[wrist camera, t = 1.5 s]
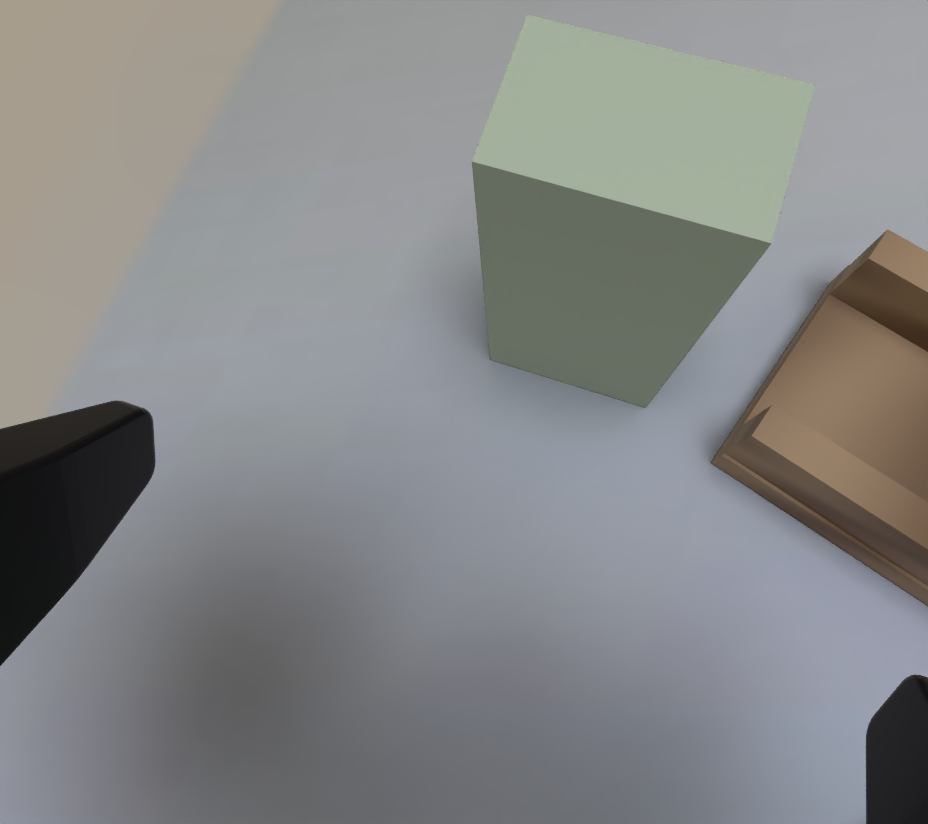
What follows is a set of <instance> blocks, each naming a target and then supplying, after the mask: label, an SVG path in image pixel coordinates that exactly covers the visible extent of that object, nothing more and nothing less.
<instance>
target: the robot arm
mask: <svg viewBox="0 0 928 824" xmlns="http://www.w3.org/2000/svg"><path fill="white" fill-rule="evenodd" d="M154 468H155V446H154V429H153V418H152V416H151V414H150V412H149V411H147V410H146V409H144V408H141V407H138V406H135V405H132V404H130V403H127V402H124V401H111V402H107V403H103V404H99V405H95V406H91V407H87V408H83V409H79V410H75V411H71V412H67V413H63V414H59V415H55V416H51V417H47V418H42V419H38V420H34V421H30V422H26V423H22V424H18V425H14V426H10V427H6V428H2V429H0V666H1V665H2V664H3V663H4V661H5V660H6V659H7V658H8V657H9V656H10V655H11V654H12V653H13V651H14V650H15V649H16V648H17V647H18V646H19V645H20V644H21V642H22V641H23V640H24V639H25V638H26V637H27V636H28V635H29V634H30V632H31V631H32V630H33V629H34V628H35V627H36V626H37V625H38V624H39V622H40V621H41V620H42V619H43V618H44V617H45V616H46V615H47V614H48V612H49V611H50V610H51V609H52V608H53V607H54V606H55V605H56V603H57V602H58V601H59V600H60V599H61V598H62V597H63V596H64V595H65V593H66V592H67V591H68V590H69V589H70V588H71V586H72V585H73V584H74V583H75V582H76V581H77V579H78V578H79V577H80V576H81V574H82V573H83V572H84V570H85V569H86V568H87V567H88V565H89V564H90V563H91V561H92V560H93V559H94V557H95V556H96V554H97V553H98V552H99V550H100V549H101V547H102V546H103V545H104V543H105V542H106V541H107V539H108V538H109V536H110V535H111V534H112V532H113V531H114V530H115V528H116V527H117V525H118V524H119V523H120V521H121V520H122V519H123V517H124V516H125V514H126V513H127V512H128V510H129V509H130V507H131V506H132V505H133V503H134V502H135V501H136V499H137V498H138V496H139V495H140V494H141V492H142V491H143V490H144V488H145V487H146V485H147V484H148V482H149V481H150V479H151V477H152V475H153V472H154ZM866 824H928V678H927V677H924V676H921V675H911V676H909V677H907V678H906V679H904V680H903V681H902V682H901V684H900V685H899V686H898V687H897V688H896V690H895V691H894V692H893V693H892V694H891V696H890V697H889V698H888V699H887V700H886V701H885V703H884V704H883V705H882V706H881V707H880V709H879V710H878V711H877V712H876V713H875V715H874V716H873V717H872V719H871V721H870V723H869V726H868V729H867V734H866Z"/></svg>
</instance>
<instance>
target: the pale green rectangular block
mask: <svg viewBox="0 0 928 824" xmlns="http://www.w3.org/2000/svg"><path fill="white" fill-rule="evenodd" d="M814 87H815V84H812V83H807V82H803V81H799V80H795V79H791V78H787V77H783V76H779V75H774V74H770V73H766V72H762V71H758V70H754V69H750V68H746V67H741V66H737V65H733V64H729V63H725V62H721V61H717V60H713V59H708V58H704V57H700V56H696V55H692V54H688V53H684V52H679V51H675V50H671V49H667V48H663V47H659V46H655V45H651V44H646V43H642V42H638V41H634V40H630V39H626V38H622V37H618V36H613V35H609V34H605V33H601V32H597V31H593V30H589V29H585V28H580V27H576V26H572V25H568V24H564V23H560V22H556V21H552V20H547V19H543V18H539V17H535V16H531V15H527V17H526V19H525V22H524V25H523V27H522V30H521V33H520V35H519V38H518V41H517V43H516V46H515V49H514V51H513V54H512V56H511V59H510V62H509V64H508V67H507V70H506V72H505V75H504V78H503V80H502V83H501V86H500V88H499V91H498V94H497V96H496V99H495V101H494V104H493V107H492V109H491V112H490V115H489V117H488V120H487V123H486V125H485V128H484V131H483V133H482V136H481V139H480V141H479V144H478V146H477V149H476V152H475V154H474V157H473V160H472V168H473V179H474V190H475V201H476V212H477V223H478V234H479V245H480V256H481V267H482V278H483V289H484V299H485V310H486V321H487V332H488V343H489V354H490V360H493V361H496V362H499V363H503V364H506V365H509V366H512V367H516V368H519V369H522V370H525V371H528V372H532V373H535V374H538V375H541V376H545V377H548V378H551V379H554V380H557V381H561V382H564V383H567V384H570V385H574V386H577V387H580V388H583V389H586V390H590V391H593V392H596V393H599V394H603V395H606V396H609V397H612V398H615V399H619V400H622V401H625V402H628V403H632V404H635V405H638V406H641V407H644V408H646V407H647V405H648V404H649V403H650V402H651V400H652V399H653V398H654V396H655V395H656V394H657V392H658V391H659V390H660V388H661V387H662V386H663V385H664V383H665V382H666V381H667V379H668V378H669V377H670V375H671V374H672V373H673V371H674V370H675V369H676V368H677V366H678V365H679V364H680V362H681V361H682V360H683V358H684V357H685V356H686V354H687V353H688V352H689V351H690V349H691V348H692V347H693V345H694V344H695V343H696V341H697V340H698V339H699V337H700V336H701V335H702V334H703V332H704V331H705V330H706V328H707V327H708V326H709V324H710V323H711V322H712V320H713V319H714V318H715V317H716V315H717V314H718V313H719V311H720V310H721V309H722V307H723V306H724V305H725V303H726V302H727V301H728V300H729V298H730V297H731V296H732V294H733V293H734V292H735V290H736V289H737V288H738V286H739V285H740V284H741V283H742V281H743V280H744V279H745V277H746V276H747V275H748V273H749V272H750V271H751V269H752V268H753V267H754V266H755V264H756V263H757V262H758V260H759V259H760V258H761V256H762V255H763V254H764V252H765V251H766V250H767V249H768V247H769V246H770V245H771V243H772V240H773V236H774V232H775V229H776V225H777V222H778V218H779V214H780V211H781V207H782V203H783V200H784V196H785V192H786V189H787V185H788V182H789V178H790V174H791V171H792V167H793V163H794V160H795V156H796V152H797V149H798V145H799V142H800V138H801V134H802V131H803V127H804V123H805V120H806V116H807V112H808V109H809V105H810V102H811V98H812V94H813V91H814Z"/></svg>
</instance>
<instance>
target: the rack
mask: <svg viewBox="0 0 928 824" xmlns="http://www.w3.org/2000/svg"><path fill="white" fill-rule="evenodd" d="M711 463H712V464H714V465H715V466H717V467H718V468H720V469H721V470H723V471H724V472H726V473H727V474H729V475H730V476H732V477H733V478H735V479H736V480H738V481H739V482H741V483H742V484H744V485H745V486H747V487H749V488H750V489H752V490H753V491H755V492H756V493H758V494H759V495H761V496H762V497H764V498H765V499H767V500H768V501H770V502H771V503H773V504H774V505H776V506H777V507H779V508H780V509H782V510H783V511H785V512H786V513H788V514H789V515H791V516H792V517H794V518H796V519H797V520H799V521H800V522H802V523H803V524H805V525H806V526H808V527H809V528H811V529H812V530H814V531H815V532H817V533H818V534H820V535H821V536H823V537H824V538H826V539H827V540H829V541H830V542H832V543H833V544H835V545H836V546H838V547H839V548H841V549H843V550H844V551H846V552H847V553H849V554H850V555H852V556H853V557H855V558H856V559H858V560H859V561H861V562H862V563H864V564H865V565H867V566H868V567H870V568H871V569H873V570H874V571H876V572H877V573H879V574H880V575H882V576H883V577H885V578H886V579H888V580H889V581H891V582H893V583H894V584H896V585H897V586H899V587H900V588H902V589H903V590H905V591H906V592H908V593H909V594H911V595H912V596H914V597H915V598H917V599H918V600H920V601H921V602H923V603H924V604H926V605H927V606H928V252H927V251H925V250H923V249H922V248H920V247H918V246H916V245H915V244H913V243H911V242H909V241H907V240H906V239H904V238H902V237H900V236H899V235H897V234H895V233H893V232H891V231H890V230H887V231H886V232H885V233H883V234H882V235H881V236H880V237H879V238H878V239H877V240H876V241H875V242H874V243H873V244H872V245H871V246H870V247H869V248H867V249H866V250H865V251H864V252H863V253H862V254H861V255H860V256H859V257H858V258H857V259H856V260H855V261H854V262H853V263H852V264H850V265H848V266H847V267H846V268H845V269H844V270H843V271H842V272H841V273H840V274H839V275H838V276H837V277H836V278H835V279H834V280H832V281H831V283H830V284H829V286H828V287H827V289H826V290H825V292H824V293H823V295H822V296H821V298H820V299H819V301H818V302H817V304H816V305H815V307H814V308H813V310H812V311H811V313H810V314H809V316H808V317H807V319H806V320H805V322H804V323H803V325H802V326H801V328H800V329H799V331H798V332H797V334H796V335H795V337H794V338H793V340H792V341H791V343H790V344H789V346H788V347H787V349H786V350H785V352H784V353H783V355H782V356H781V358H780V359H779V361H778V362H777V364H776V365H775V367H774V368H773V370H772V371H771V373H770V374H769V376H768V377H767V379H766V380H765V382H764V383H763V385H762V386H761V388H760V389H759V391H758V392H757V394H756V396H755V397H754V399H753V400H752V402H751V403H750V405H749V406H748V408H747V409H746V411H745V412H744V414H743V415H742V417H741V418H740V420H739V421H738V423H737V424H736V426H735V427H734V429H733V430H732V432H731V433H730V435H729V436H728V438H727V439H726V441H725V442H724V444H723V445H722V447H721V448H720V450H719V451H718V453H717V454H716V456H715V457H714V459H713V460H712V462H711Z"/></svg>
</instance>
